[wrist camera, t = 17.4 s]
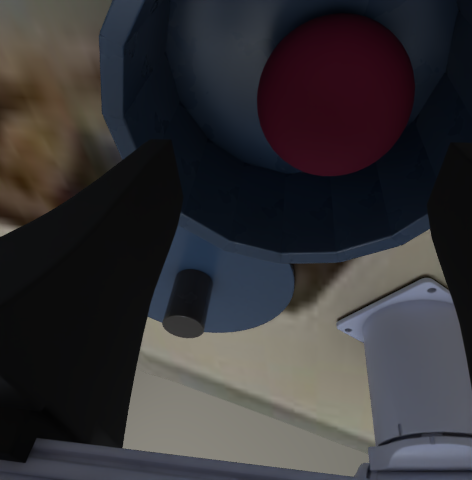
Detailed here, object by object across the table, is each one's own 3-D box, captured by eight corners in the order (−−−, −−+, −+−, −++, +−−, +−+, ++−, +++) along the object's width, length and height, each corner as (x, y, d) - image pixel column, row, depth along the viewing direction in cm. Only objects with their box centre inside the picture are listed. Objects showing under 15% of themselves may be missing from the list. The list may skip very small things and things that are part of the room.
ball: (389, 32, 16) (478, 109, 13) (302, 135, 19) (357, 218, 15) (300, -50, 12) (391, 28, 9) (211, 92, 15) (257, 187, 12)
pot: (546, 25, 14) (643, 103, 10) (309, 214, 22) (310, 299, 18) (285, -301, 10) (271, -395, 6) (108, 81, 18) (50, 154, 14)
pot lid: (338, 266, 25) (343, 330, 22) (223, 338, 34) (214, 392, 30) (154, 152, 20) (126, 212, 17) (76, 270, 29) (47, 325, 26)
